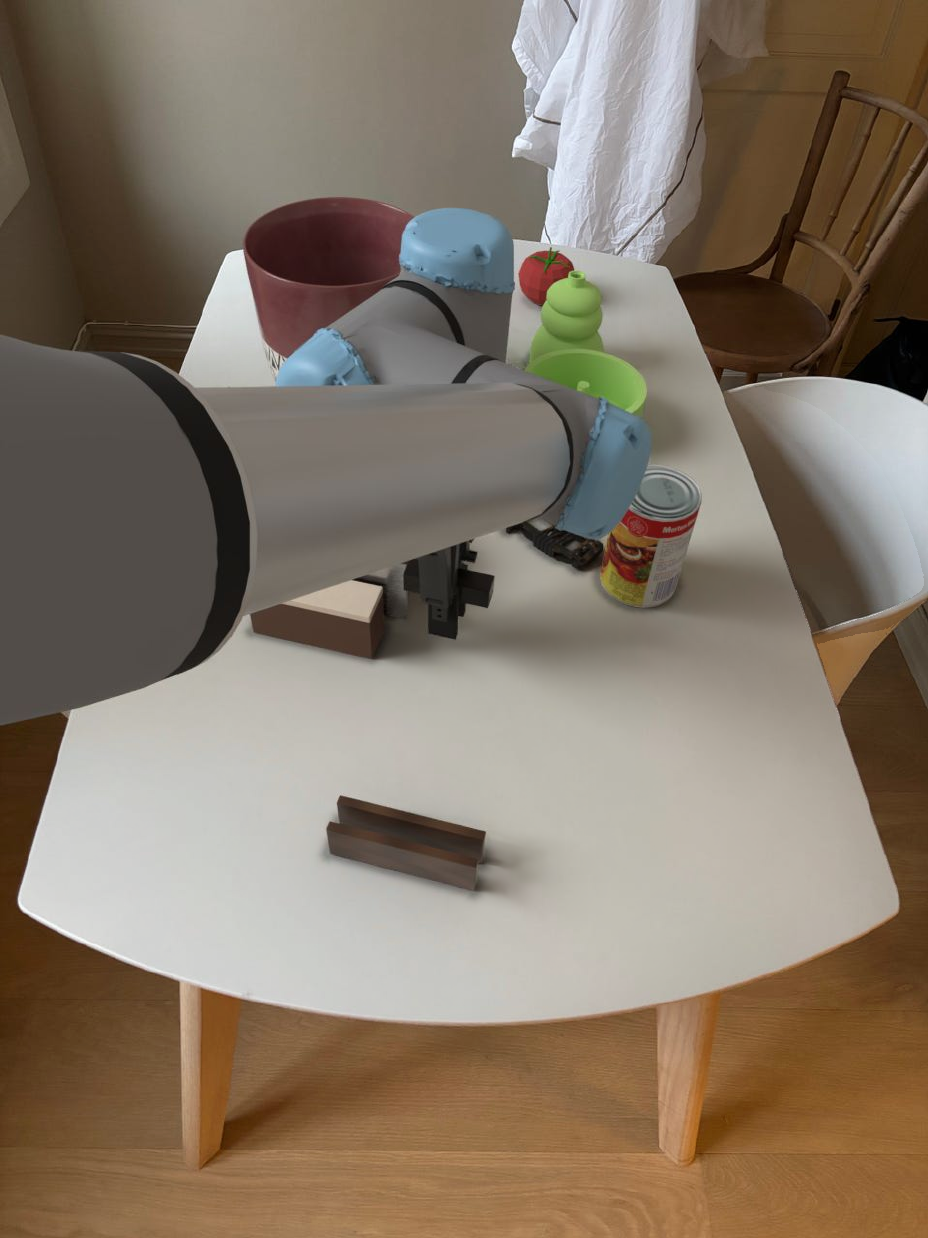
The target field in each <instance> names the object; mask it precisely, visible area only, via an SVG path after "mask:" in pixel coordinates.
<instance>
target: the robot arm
mask: <svg viewBox="0 0 928 1238" xmlns="http://www.w3.org/2000/svg"><path fill="white" fill-rule="evenodd" d="M414 217H415V218H413V219H412V220H411V221H410V222H409V223H408V224H407V225H406V229H405V230H404V232H403V234H402V242H401V253H400V254H399V262H400V263H399V264H400V266H401V272H400V274H399V276H398V277H396V278H395V279H393V280H392V281H390V282H389V283H387V284H386V285H385V286H384V287H383V288H382V289H381V290H380V291H379V292H378V293H376V294H375V295H373V296H372V297H370V298H369V299H367V300H366V301H364V302H363V303H362V304H360V305H359V306H357V307H356V308H354V309H353V310H351V311H350V312H348V313H347V314H345V315H344V316H342V317H341V318H340V319H338V320H337V321H335V322H334V323H332V324H331V325H329V326H328V327H326V328H321V329H319V330H317V331H316V333H315V334H314V336H313V337H312V338H310V339H309V340H308V341H307V342H305V343H304V344H303V345H302V346H300V347H299V348H298V349H297V350H295V352H294V353H293V354H292V355H291V356H290V357H289V358H287V359H286V360H285V362H284V363H283V364H282V366H281V367H280V369H279V371H278V375H277V378H276V381H275V386H224V387H223V386H221V387H219V386H218V387H216V386H215V387H211V386H210V387H195V386H193V384H191V383H190V382H189V381H188V380H186V379H185V378H184V377H183V376H181V375H180V374H179V373H178V372H176V371H175V370H173V369H172V368H169V367H168V366H166V365H164V364H163V363H160V362H158V361H156V360H154V359H150V358H148V357H146V356H143V355H140V354H135V353H128V352H121V351H120V352H119V351H95V350H94V351H89V350H70V349H69V350H68V349H60V348H55V347H51V346H45V345H41V344H36V343H31V342H28V341H24V340H21V339H18V338H15V337H11V336H8V335H4V334H2V333H0V726H5V725H10V724H13V723H19V722H24V721H26V720H32V719H36V718H40V717H46V716H50V715H56V714H58V713H63V712H67V711H72V710H76V709H82V708H85V707H88V706H90V705H94V704H97V703H101V702H104V701H106V700H111V699H114V698H117V697H120V696H123V695H126V694H129V693H132V692H135V691H139V690H142V689H145V688H147V687H149V686H151V685H155V684H156V683H159V682H162V681H164V680H167V679H169V678H172V677H174V676H178V675H181V674H183V673H186V672H188V671H190V670H192V669H194V668H197V667H199V666H201V665H202V664H204V663H206V662H208V661H209V660H210V659H211V658H213V657H214V656H215V655H216V654H218V652H220V651H221V650H222V648H223V647H224V646H225V645H226V644H227V643H228V641H230V639H231V638H232V637H233V635H234V634H235V632H236V631H237V629H238V627H239V625H240V623H241V622H242V620H243V618H244V617H245V616H248V615H250V614H251V613H254V612H257V611H260V610H263V609H266V608H269V607H272V606H275V605H278V604H281V603H284V602H287V601H290V600H293V599H296V598H299V597H302V596H305V595H308V594H311V593H314V592H317V591H320V590H323V589H326V588H329V587H332V586H335V585H338V584H341V583H344V582H347V581H350V580H353V579H355V578H358V577H361V576H364V575H367V574H370V573H373V572H376V571H379V570H382V569H385V568H388V567H391V566H394V565H397V564H400V563H403V562H406V561H409V560H412V559H418V562H419V578H420V586H419V588H418V591H420V594H419V595H420V603H424V604H427V605H428V606H427V634H428V635H431V636H436V637H441V638H445V639H450V640H453V641H456V640H457V637H458V636H459V635H458V634H459V618H464V617H465V614H466V609H467V607H466V605H467V604H465V603H460V602H459V592H460V587H457V572H458V568H461V569H466V570H469V569H468V567H469V565H468V564H466V563H464V562H468V563H472V564H476V561H477V559H478V551H476V550H472V549H471V547H470V545H471V544H472V543H473V542H474V540H475V539H477V538H480V537H484V536H487V535H489V534H492V533H496V532H498V531H501V530H504V529H506V528H507V527H510V526H513V525H516V524H519V523H522V522H529V521H534V520H536V519H537V520H539V519H540V520H542V521H545V522H547V523H548V522H549V523H548V524H550V523H551V524H552V525H554V526H555V527H554V528H557V529H558V532H561V530H565V531H568V532H571V533H574V534H576V535H579V536H582V537H585V538H588V539H594V540H599V539H602V538H604V537H607V536H608V534H609V533H610V532H611V531H612V530H613V529H614V528H615V527H616V526H617V525H618V524H619V523H620V521H621V520H622V518H623V517H624V515H625V514H626V512H627V511H628V509H629V507H630V505H631V504H632V502H633V500H634V498H635V496H636V494H637V491H638V489H639V487H640V485H641V482H642V480H643V477H644V474H645V471H646V469H647V465H649V461H650V457H651V454H652V453H651V452H652V442H653V440H652V434H651V430H650V428H649V425H648V424H647V421H645V419H643V417H642V418H640V417H638V416H636V415H634V414H632V413H630V412H628V411H625V410H623V409H621V408H619V407H617V406H615V405H613V404H611V403H609V402H608V400H607V399H605V398H603V397H599V398H596V397H593V396H591V395H588V394H585V393H583V392H580V391H577V390H575V389H572V388H570V387H567V386H564V385H562V384H559V383H556V382H554V381H551V380H548V379H546V378H543V377H541V376H538V375H535V374H533V373H530V372H527V371H525V369H522V368H520V367H517V366H514V365H512V364H510V363H507V354H508V344H509V334H510V333H509V332H510V324H511V312H512V305H513V304H512V303H513V294H514V293H513V292H514V291H515V289H516V282H515V243H514V239H513V235H512V233H511V232H510V230H509V229H508V227H507V226H506V225H505V224H504V223H503V222H502V221H500V220H499V219H497V218H496V217H494V216H493V215H490V214H487V213H484V212H481V211H478V210H475V209H471V208H464V207H441V208H435V209H431V210H427V211H425V212H422V213H420V214H417V215H416V216H414ZM551 524H550V525H551ZM552 525H551V526H552ZM470 549H471V550H470Z"/></svg>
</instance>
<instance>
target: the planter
mask: <svg viewBox="0 0 928 1238" xmlns="http://www.w3.org/2000/svg"><path fill="white" fill-rule="evenodd" d="M415 217H416V216H414V215H412V214H411V213H409V212H408V211H406V210H404V209H401V208H400V207H397V206H394V205H392V204H389V203H385V202H382V201H378V200H373V199H367V198H362V197H350V196H348V197H347V196H328V197H315V198H308V199H303V200H298V201H294V202H290V203H288V204H287V203H286V204H284V205H281V206H279V207H276V208H274V209H272V210H269V211H268V212H266V213H264V214H263V215H261V216H259V217H258V218H257V219H255V220H254V221H253V222H252V223H251V224H250V225H249V227H248V228H247V229H246V231H245V233H244V235H243V238H242V252H243V256H244V257H243V258H244V262H245V268H246V273H247V277H248V282H249V286H250V291H251V295H252V300H253V305H254V309H255V315H256V320H257V324H258V328H259V334H260V338H261V342H262V347H263V351H264V356H265V358H266V362H267V365H268V368H269V370H270V372H271V374H272V377H273V379H274V381H275V382H276V378H277V375H278V371H279V369H280V367H281V366H282V364H283V363H284V362H285V360H286V359H287V358H289V357H290V356H291V355H292V354H293V353H294V352H295V350H297V349H298V348H299V347H300V346H302V345H303V344H304V343H305V342H307V341H308V340H309V339H310V338H312V337H313V336H314V334H315V333H316V331H317V330H319V329H321V328H326V327H328V326H329V325H331V324H332V323H334V322H335V321H337V320H338V319H340V318H341V317H342V316H344V315H345V314H347V313H348V312H350V311H351V310H353V309H354V308H356V307H357V306H359V305H360V304H362V303H363V302H364V301H366V300H367V299H369V298H370V297H372V296H373V295H375V294H376V293H378V292H379V291H380V290H381V289H382V288H383V287H384V286H385V285H386V284H387V283H389V282H390V281H392V280H393V279H395V278H396V277H398V276H399V274H400V272H401V266H400V264H399V263H400V262H399V254H400V253H401V242H402V234H403V232H404V230H405V229H406V225H407V224H408V223H409V222H410V221H411V220H412V219H413V218H415Z"/></svg>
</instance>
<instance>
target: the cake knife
mask: <svg viewBox="0 0 928 1238" xmlns="http://www.w3.org/2000/svg"><path fill="white" fill-rule="evenodd" d="M495 578H496V577H495V575H494V574H489V573H483V572H480V571H475V570H471V569H468V570H466V569H461V568H458V572H457V587H460V592H459V602H460V603H465V604H466V605H470V606H475V607H478V608H484V609H488V608H489V607H490V603H491V600H492V597H493V595H494V587H495ZM353 581H358V582H363V583H367V584H372V585H377V586H381V587H383V602H384V614H386V615H390V617H396V618H401V619H404V620H407V619H408V617H409V609H408V608H409V603H408V602H409V601H408V596H409V595H408V592H409V593H414V594H418V595H421V594H420V591H418V588H419V586H420V578H419V562H418V558H415V559H412V560H409V562H408V564H402V563H400V564H397V565H394V566H391V567H388V568H385V569H382V570H379V571H376V572H373V573H370V574H367V575H364V576H361V577H358V578H355V579H353Z"/></svg>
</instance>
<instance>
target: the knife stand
mask: <svg viewBox="0 0 928 1238" xmlns="http://www.w3.org/2000/svg"><path fill="white" fill-rule="evenodd" d="M336 809H337V814H338V816H337V817H338V822H336V821H335V822H334V821H328V824H327V826H326V829H325V830H326V838H327V844H328V850H329V855H330V854H331V855H334V856H337V857H342V858H345V859H350V860H354V861H357V862H361V863H365V864H369V865H372V866H377V867H379V868H380V867H381V868H384V869H388V870H392V871H396V872H400V873H403V874H407V875H411V876H415V877H419V878H423V879H427V880H431V881H434V882H438V883H442V884H445V885H449V886H454V887H458V888H461V889H465V890H468V891H469V890H470V891H473V892H474V891H475V890H476V886H477V882H478V881H477V880H478V871H479V864H480V865H481V864H482V863H483V860H484V857H485V849H486V848H485V846H486V837H487V831H485V830H481V829H477V828H474V827H470V826H466V825H461V824H457V823H453V822H449V821H445V820H442V819H437V818H434V817H430V816H424V815H422V814H417V813H414V812H410V811H405V810H401V809H397V808H393V807H390V806H385V805H381V804H378V803H373V802H369V801H365V800H361V799H357V798H353V797H349V796H345V795H339V796H338V798H337V802H336Z"/></svg>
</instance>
